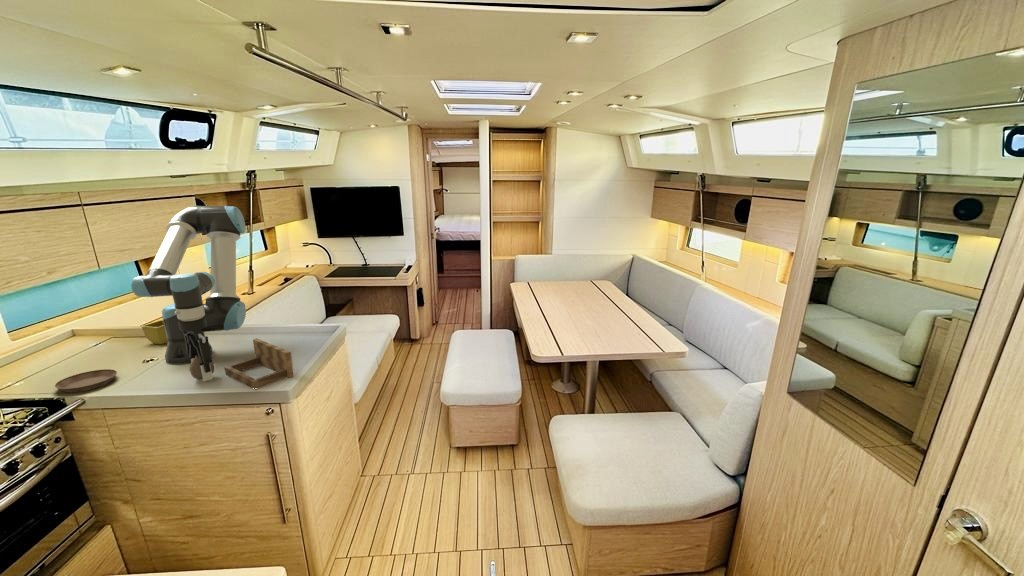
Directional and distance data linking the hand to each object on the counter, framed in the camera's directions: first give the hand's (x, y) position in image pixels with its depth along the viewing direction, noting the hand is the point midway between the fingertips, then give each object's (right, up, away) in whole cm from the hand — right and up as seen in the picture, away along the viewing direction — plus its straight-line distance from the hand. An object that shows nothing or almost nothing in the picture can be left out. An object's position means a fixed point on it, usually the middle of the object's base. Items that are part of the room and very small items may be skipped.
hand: (203, 376), depth 139 cm
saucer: (-37, -2, -5) cm, 37 cm away
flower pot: (-45, +8, +33) cm, 56 cm away
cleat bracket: (+17, 0, +5) cm, 18 cm away
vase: (0, 0, 0) cm, 0 cm away
